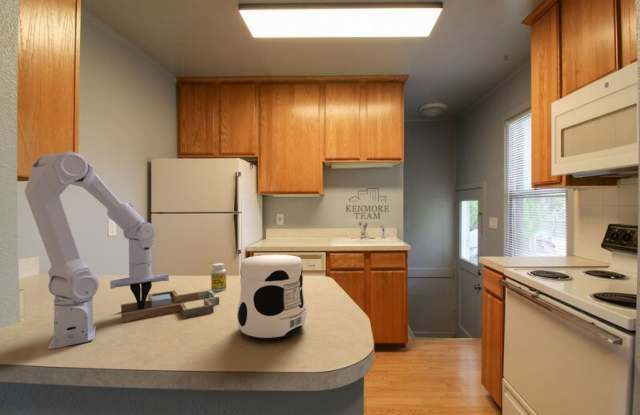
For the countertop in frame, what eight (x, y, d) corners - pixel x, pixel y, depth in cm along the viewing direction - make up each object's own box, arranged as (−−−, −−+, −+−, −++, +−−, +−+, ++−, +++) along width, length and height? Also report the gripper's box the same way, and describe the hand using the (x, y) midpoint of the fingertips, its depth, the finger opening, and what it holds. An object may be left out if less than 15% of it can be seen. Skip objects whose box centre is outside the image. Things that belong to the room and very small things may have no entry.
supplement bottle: (227, 287, 113) (226, 262, 113) (225, 291, 108) (225, 265, 108) (212, 288, 112) (212, 263, 112) (210, 292, 107) (210, 265, 107)
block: (171, 311, 88) (171, 298, 88) (152, 314, 86) (152, 301, 86) (169, 306, 93) (169, 293, 93) (151, 309, 90) (150, 296, 90)
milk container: (248, 316, 84) (247, 253, 83) (308, 317, 83) (308, 254, 83) (226, 346, 66) (226, 266, 66) (303, 347, 66) (303, 267, 66)
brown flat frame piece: (225, 310, 89) (225, 302, 89) (121, 331, 74) (121, 322, 74) (206, 291, 108) (206, 285, 108) (120, 305, 93) (120, 298, 93)
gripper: (166, 257, 93) (166, 300, 94) (110, 263, 85) (111, 309, 85) (169, 261, 88) (170, 306, 88) (110, 267, 79) (110, 317, 80)
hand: (141, 308), depth 86 cm, fingers closed
